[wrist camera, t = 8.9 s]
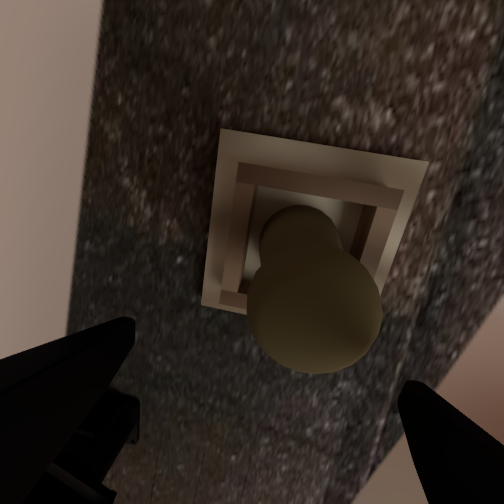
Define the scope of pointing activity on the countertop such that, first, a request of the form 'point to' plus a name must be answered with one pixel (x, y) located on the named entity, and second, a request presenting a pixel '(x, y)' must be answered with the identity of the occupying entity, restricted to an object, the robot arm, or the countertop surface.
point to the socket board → (302, 193)
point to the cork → (311, 295)
